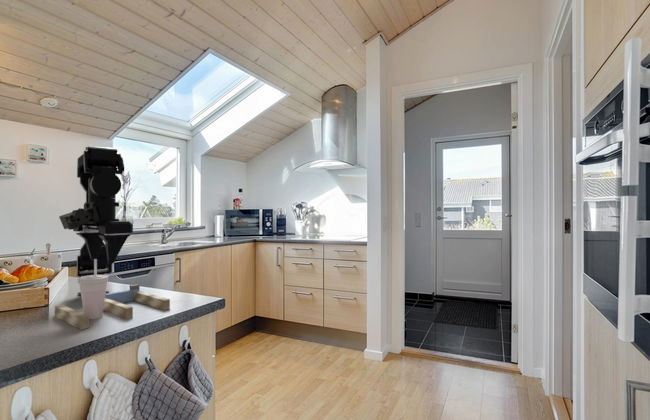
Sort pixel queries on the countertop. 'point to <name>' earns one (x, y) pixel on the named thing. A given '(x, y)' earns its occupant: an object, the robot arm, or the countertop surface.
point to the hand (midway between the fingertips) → (102, 261)
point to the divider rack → (111, 309)
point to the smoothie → (93, 293)
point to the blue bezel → (123, 294)
